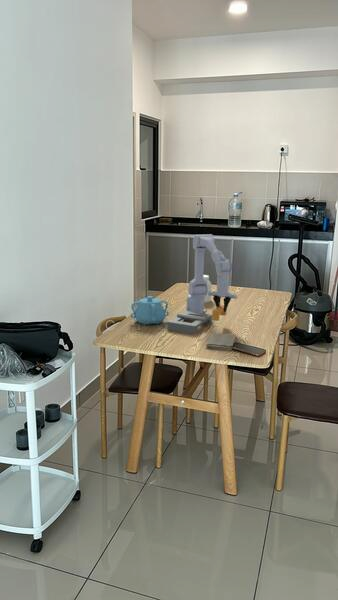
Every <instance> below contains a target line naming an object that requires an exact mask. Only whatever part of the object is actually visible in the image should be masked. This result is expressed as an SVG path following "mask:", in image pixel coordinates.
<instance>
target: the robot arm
mask: <svg viewBox="0 0 338 600" xmlns="http://www.w3.org/2000/svg"><path fill="white" fill-rule="evenodd" d="M192 248H193V249H194V277H193V279H192V280H190V281H189V284H188V289H187V291H188V294H189V295H187V297H186V309H185V311H189V312H196V313H203V314H205V312H207V309H205V302H204V297H205V296H206V294H207V293H208V296H211V297H213V298H212V299H213V301H214V304H215V309H216V308H217V307H219V306H220V305H221V299H222V298H223V305H224V312H226V313H227V312H228V311H227V309H228V306H229V304H230V302H231V301H232V299H234V300H237V299H238V294H235V293H231V292H229V288H230V287H229V285H230V283H229V282H230V272H231V271H232V269H233V264H232V261H231V260H230V259H227V258H226V256H224V254H223V251H221V250H219V249H217V248H218V247H217V246H216V244H215V236H214V235H213V234H211V233H209V234H208V233H207V234H195V235H194V236H193V238H192ZM206 250H208V251H209V253H210V254H211V256H210V257H211V259H212V262H213V263H214V264H215V271H216V276H217V277H216V278H217V280H216V291H212V290H211V291H209V292H208V286H207V282H206V281H205V280H204V279H203V277H204V275H205V274H204V270H205V251H206Z"/></svg>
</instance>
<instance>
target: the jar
mask: <svg viewBox="0 0 338 600" xmlns="http://www.w3.org/2000/svg"><path fill="white" fill-rule="evenodd" d="M203 279H204V280H205V281H206V282H207V286H208V292H209V291H212V282H211V281H210V275H208V274H204V277H203ZM211 301H212V296H208V293H207V294H206V296H205V297H204V303H209V302H211Z"/></svg>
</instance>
